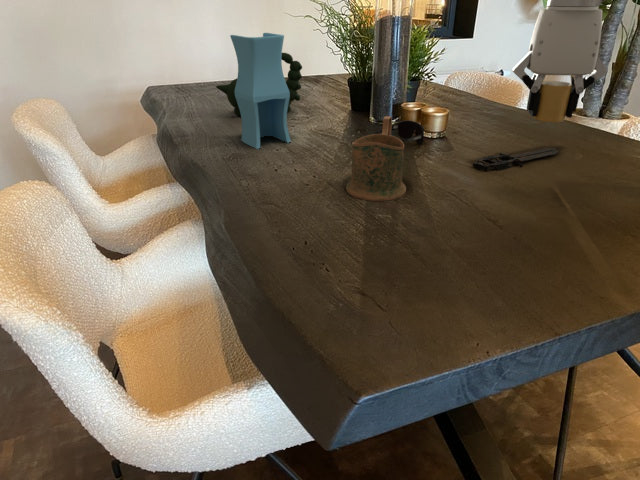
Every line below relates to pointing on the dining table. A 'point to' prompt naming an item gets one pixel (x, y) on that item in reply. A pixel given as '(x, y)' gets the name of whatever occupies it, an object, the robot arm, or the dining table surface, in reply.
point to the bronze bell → (377, 166)
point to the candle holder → (553, 101)
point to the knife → (511, 159)
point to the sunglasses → (409, 131)
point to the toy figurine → (291, 83)
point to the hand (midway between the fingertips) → (549, 114)
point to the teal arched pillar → (261, 88)
